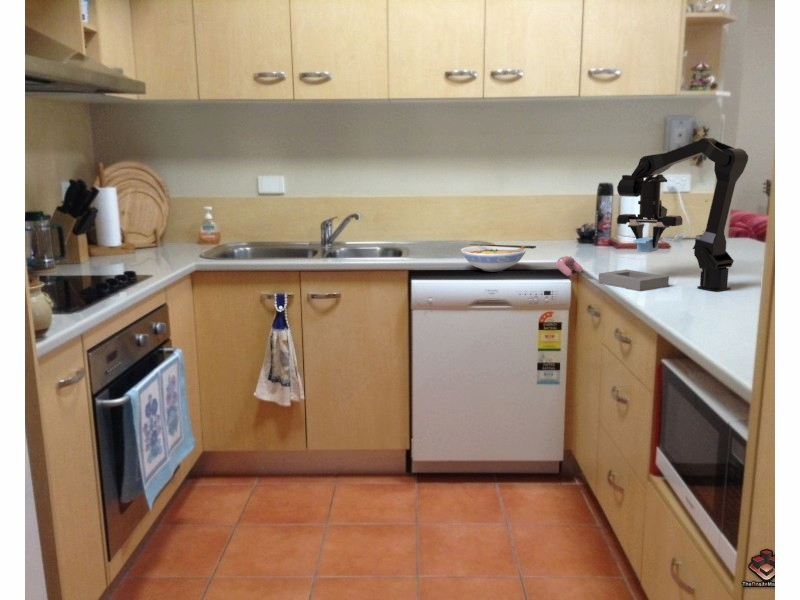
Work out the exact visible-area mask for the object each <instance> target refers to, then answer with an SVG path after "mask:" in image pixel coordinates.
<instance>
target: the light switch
mask: <svg viewBox="0 0 800 600" xmlns="http://www.w3.org/2000/svg"><path fill="white" fill-rule="evenodd" d="M669 279H670V276H669V275H664V274H663V275H662V274H655V273H650V272H644V271H638V270H633V269H621V270H613V271H606V272H599V273H598V284H603V285H607V286H613V287H617V288H618V287H619V288H622V289H623V288H624V289H627V290H632V291H638V292H643V291H649V290H655V289H662V288H667V287H668V288H669V284H670V283H669V282H670V280H669ZM661 287H662V288H661Z"/></svg>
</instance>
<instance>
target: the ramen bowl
mask: <svg viewBox="0 0 800 600" xmlns="http://www.w3.org/2000/svg"><path fill="white" fill-rule="evenodd" d="M536 248H537V246H536V245H514V244H513V245H511V244H506V245H504V244H478V245H477V244H476V243H475V244H473V243H470V244H469V246H466V247H463V248H461V249H460V252H461V253H462V255H463V256H464V258H465V259H466V261H467V262H468V263H469V265H471V266H473V267H475V268H478V269H481V270H482V271H484V272H491V273H494V272H503V271H505V270H506V269H509V268H511V267H513V266H514V265H516V264H517V263H519V262H520V261H521V260H522V258H523V257H524V255H525V254H526V251H527V249H536Z"/></svg>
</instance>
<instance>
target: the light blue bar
mask: <svg viewBox="0 0 800 600" xmlns="http://www.w3.org/2000/svg"><path fill="white" fill-rule="evenodd" d="M660 240H663V237H661V236H660V239H659V241H660ZM632 242H633V243H636V244H637V245H636V246H637V247H636V248H637V249H636V252H637V253H652V252H656V251H657V252H658V251H659V243H658V244H657V246H656V248H653V236H643V238H639V239H638V240H637V239H634V240H633V241H632Z"/></svg>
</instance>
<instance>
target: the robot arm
mask: <svg viewBox="0 0 800 600" xmlns="http://www.w3.org/2000/svg"><path fill="white" fill-rule="evenodd" d="M702 155H704V156H705V157H706V158H707V159H708V160H709V161H712V162H713V163H714V166H713V170H714V174H715V179H716V183H715V187H714V191H713V196H712V200H711V204H710V210H709V214H708V217H707V218H708V219H707V223H706V227H705V230H704V232H703V233H702V234H698V235H696V236H695V239H694V241H695V242H694V246H692V250H693V254H694V255H693V256H694V257H695V259H696V260H697V264H698V267H699V269H701V271H700V276H699V277H700V279H699V285H697V287H696V288H697V289H700V290H705V291H706V290H707V291H711V292H721V291H726V290H727V291H728V290H731V287H730V286H728V281H729V270H730V269H729V268H731V267H732V266H733V263H734V259H733V258H732V257H731V255H730V254H729V253H728V252H727V251H726V250H727V239H726V235H725V229H726V225H727V221H728V216H729V211H730V208H731V204H732V199H733V196H734V195H733V194H734V191H735V187H736V184H737V182H738V180H739V179H740V177H741V176H742V174H743V173H744V171H745V169H746V167H747V164H748V161H749V155H748V154H747V152H746V150H745V149H742V148H735V147H733V146H730V145H728V144H725V143H723V142H721V141H718V140H717V139H715V138H714V137H702V138H700V139H699V140H696V141H693V142H691V143H689V144H686V145H683V146H680V147H678V148H675V149H672V150H670V151H667V152H664V153H662V152H661V153H656V154H649V155H645V156H642V157H641V158H640V159H639V162H638V164H637V166H636V167H635V169H634V170H633V172H632V173H631V174H623V175H621V179H619V181H618V184H617V186H616V188H617V189H616V191H617V193H618V195H619V196H620V197H628V198H629V197H635V198H637V197H639V198H640V199H639V200H638V203H637V204H638V205H639V213H638V214H637V215H636V214H634V213H621V214H619V215H617V217H616V224H617V225H627V227H628V228H630V229H631V231H632V234H633V235H634V237H635V240H638V239H639V238H644V236H643V235H644V233H643V232H644V231H643V230H644V227H645V224H646V223H647V224H656V225H655V226H652V237H653V248H656V246H657V244H658V245H659V241H660V240H659V239H660V237H661V236H662V234H663V233H664V231H665V230H666V229H667V228H670V227H678V226H683V222H684V221H683V217H682V216H681V215H673V214H672V215H671V214H669V215H667V213H668V208H666V207H665V206H663V205H662V199H661V185H662V184H661V183H667V182H668V178H666V177H664V175H663V174H662V173H664V172H665V171H667V170H669V169H670V168H671V167H673V166H674V165H677V164H679V163H682V162H685V161H688V160H691V159H694V158H696V157H699V156H702ZM655 175H656V176H655ZM644 223H645V224H644Z"/></svg>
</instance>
